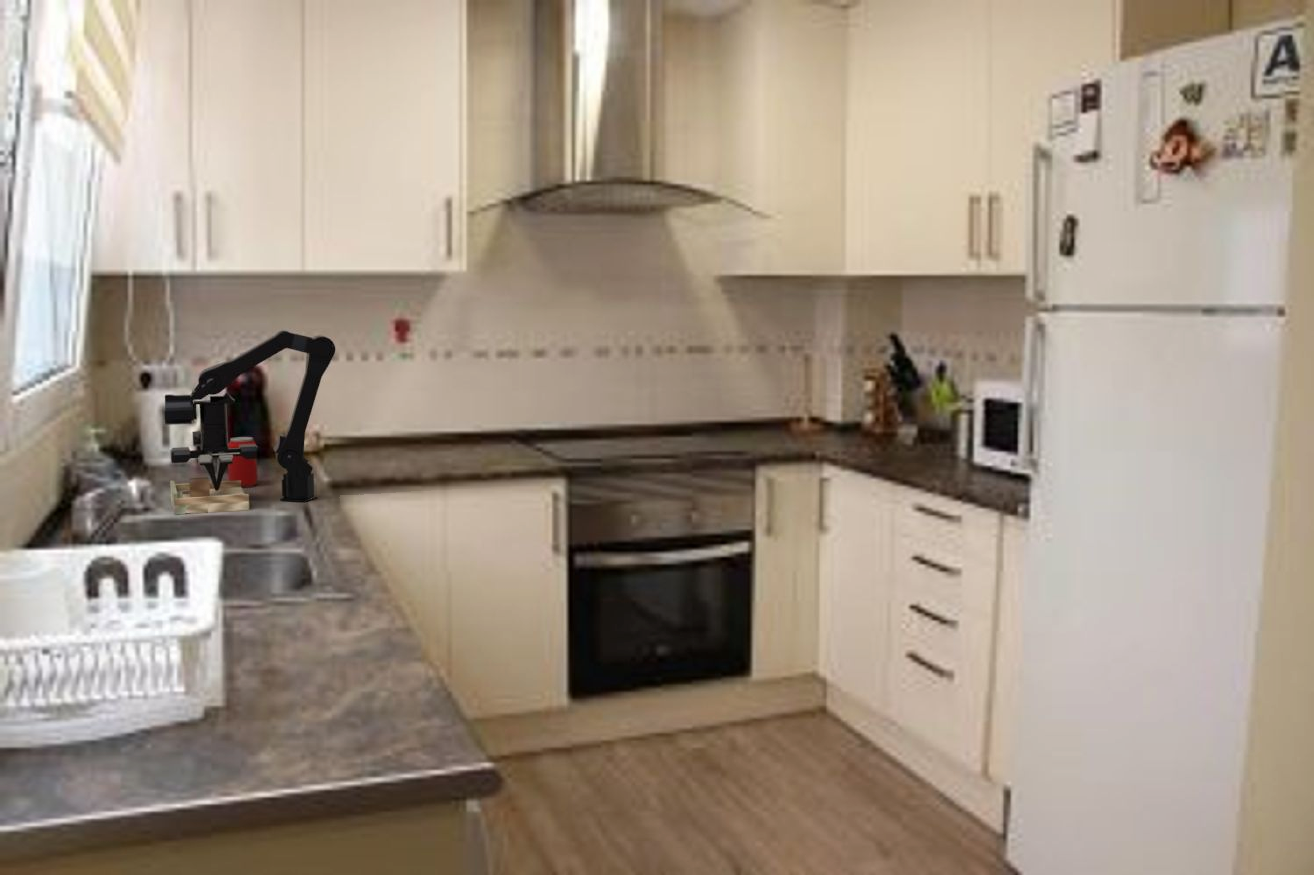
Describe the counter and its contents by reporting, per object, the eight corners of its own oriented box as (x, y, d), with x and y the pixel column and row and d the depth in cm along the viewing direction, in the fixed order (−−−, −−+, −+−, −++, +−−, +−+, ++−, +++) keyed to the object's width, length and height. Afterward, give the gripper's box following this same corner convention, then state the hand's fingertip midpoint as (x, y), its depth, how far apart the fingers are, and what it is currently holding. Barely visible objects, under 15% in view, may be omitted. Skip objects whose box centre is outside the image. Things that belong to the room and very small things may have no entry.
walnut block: (208, 494, 260) (207, 477, 259) (209, 497, 256) (209, 479, 256) (189, 495, 258) (189, 478, 257) (190, 498, 254) (190, 481, 254)
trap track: (241, 494, 270) (240, 476, 269) (249, 509, 253) (248, 490, 252) (170, 499, 263) (170, 480, 263) (174, 514, 246) (173, 494, 246)
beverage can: (262, 483, 285) (260, 437, 283) (250, 488, 278) (248, 440, 276) (236, 482, 285) (235, 436, 284) (224, 487, 279) (222, 439, 277)
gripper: (253, 417, 267) (255, 481, 270) (167, 420, 259) (171, 487, 262) (258, 423, 257) (260, 489, 260) (169, 426, 250) (173, 495, 252)
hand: (216, 490), depth 258 cm, fingers closed
